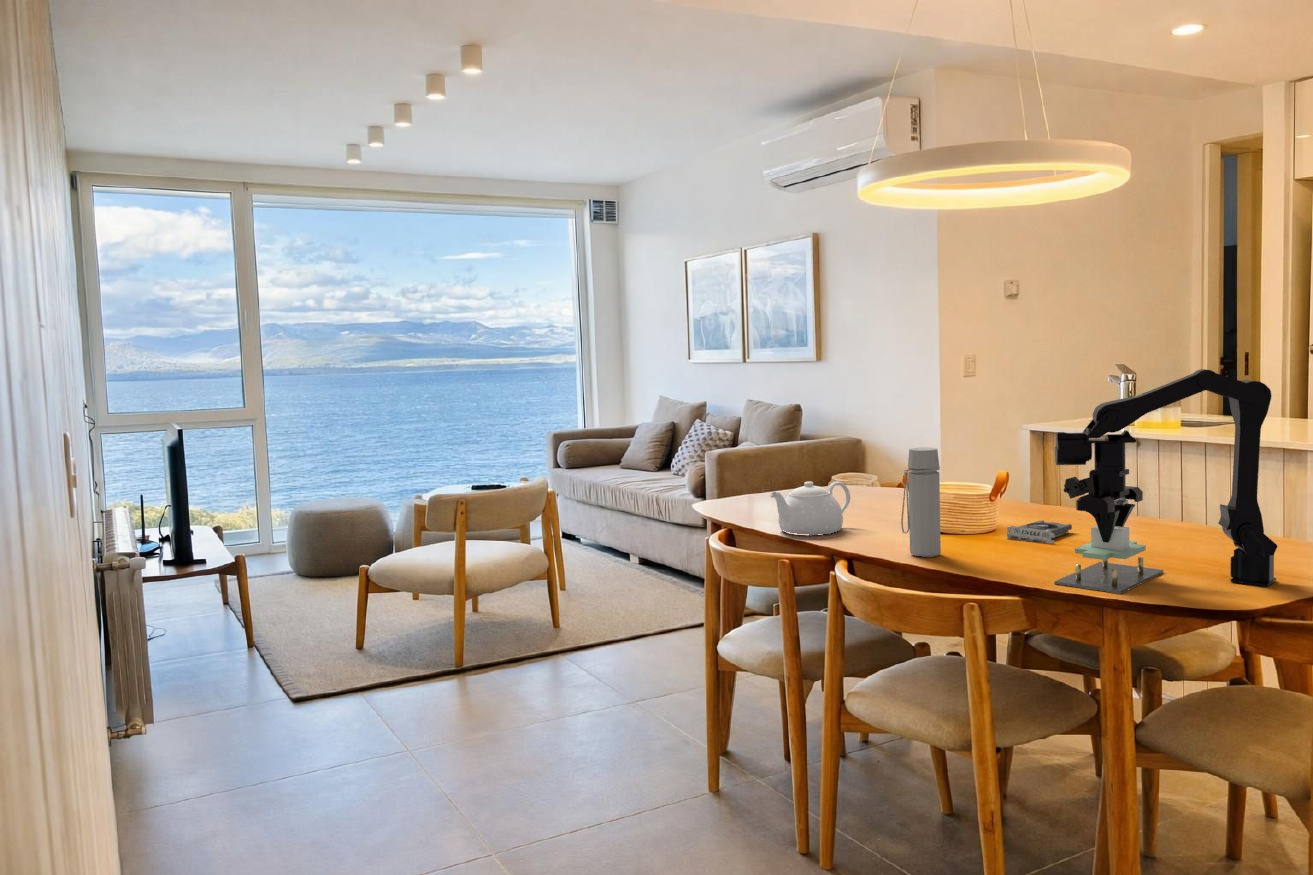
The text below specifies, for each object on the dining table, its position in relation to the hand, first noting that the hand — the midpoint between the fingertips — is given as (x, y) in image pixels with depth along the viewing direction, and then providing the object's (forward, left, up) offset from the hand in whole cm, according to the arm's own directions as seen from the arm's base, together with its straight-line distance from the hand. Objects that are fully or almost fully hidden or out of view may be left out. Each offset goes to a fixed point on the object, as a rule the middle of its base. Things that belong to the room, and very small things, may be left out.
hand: (1110, 540), depth 200 cm
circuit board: (0, 0, -2) cm, 2 cm away
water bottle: (+43, +2, -8) cm, 43 cm away
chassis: (0, 0, -8) cm, 8 cm away
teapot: (+82, -7, -8) cm, 83 cm away
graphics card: (+29, -34, -9) cm, 45 cm away
